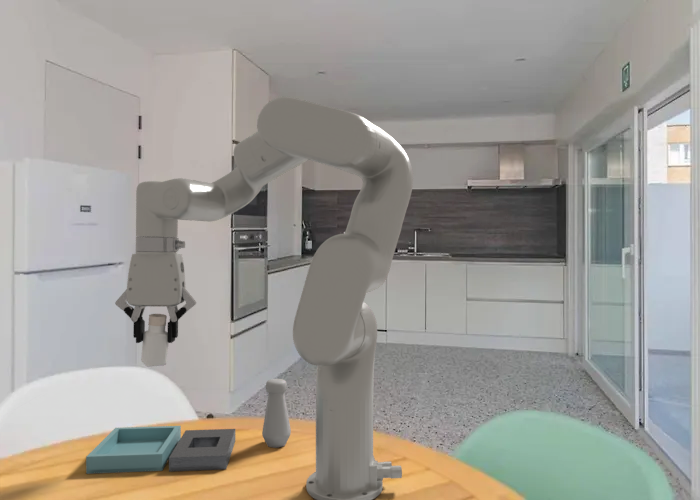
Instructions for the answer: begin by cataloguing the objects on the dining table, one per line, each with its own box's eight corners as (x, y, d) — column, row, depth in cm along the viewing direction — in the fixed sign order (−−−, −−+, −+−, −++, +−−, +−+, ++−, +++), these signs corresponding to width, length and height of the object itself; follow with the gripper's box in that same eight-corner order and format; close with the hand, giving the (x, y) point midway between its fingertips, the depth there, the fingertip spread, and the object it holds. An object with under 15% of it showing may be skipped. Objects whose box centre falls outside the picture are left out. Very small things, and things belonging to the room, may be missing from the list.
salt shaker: (293, 439, 110) (293, 376, 110) (287, 449, 104) (287, 384, 104) (266, 438, 111) (266, 376, 111) (258, 448, 105) (258, 383, 105)
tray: (180, 440, 110) (180, 425, 110) (162, 470, 95) (162, 454, 95) (115, 442, 108) (115, 427, 108) (86, 473, 93) (86, 456, 93)
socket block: (235, 440, 109) (235, 428, 109) (226, 469, 95) (226, 455, 95) (185, 442, 108) (185, 430, 108) (169, 471, 94) (169, 457, 94)
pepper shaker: (146, 368, 99) (150, 317, 98) (140, 361, 102) (144, 313, 102) (167, 366, 101) (171, 317, 101) (161, 360, 105) (165, 312, 104)
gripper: (205, 247, 106) (204, 338, 106) (117, 246, 104) (116, 338, 105) (198, 247, 98) (197, 345, 99) (103, 246, 97) (102, 345, 97)
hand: (155, 340), depth 102 cm, fingers closed on pepper shaker, 5 cm apart
